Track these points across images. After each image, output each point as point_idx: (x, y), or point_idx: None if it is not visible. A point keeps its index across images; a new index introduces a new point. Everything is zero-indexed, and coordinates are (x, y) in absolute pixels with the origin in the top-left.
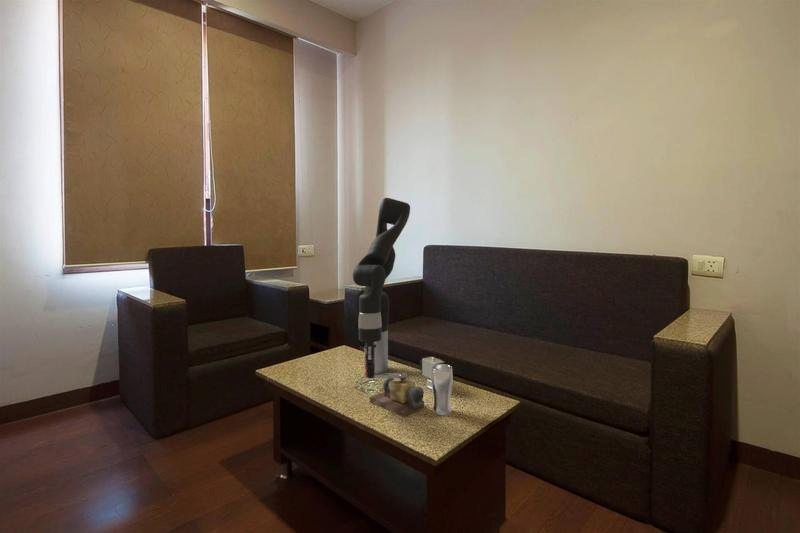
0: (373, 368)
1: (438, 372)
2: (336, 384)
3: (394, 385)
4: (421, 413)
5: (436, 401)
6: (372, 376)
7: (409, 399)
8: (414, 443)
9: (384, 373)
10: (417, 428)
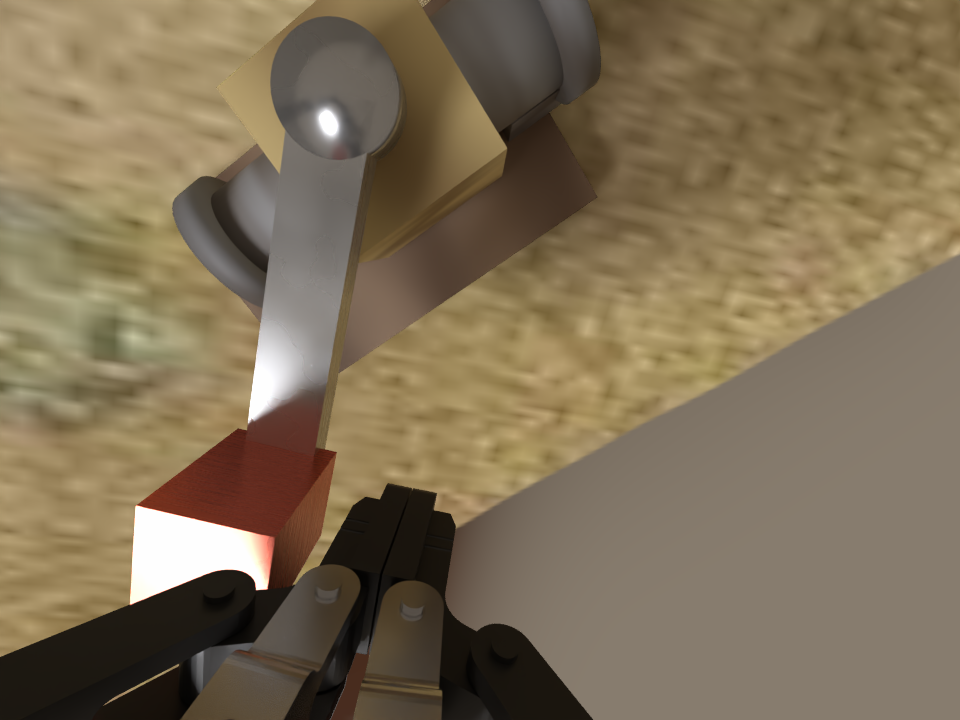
0: (415, 570)
1: None
2: (12, 532)
3: (401, 230)
4: None
5: None
6: (453, 521)
7: (527, 118)
8: (950, 224)
9: (278, 338)
10: (781, 153)
